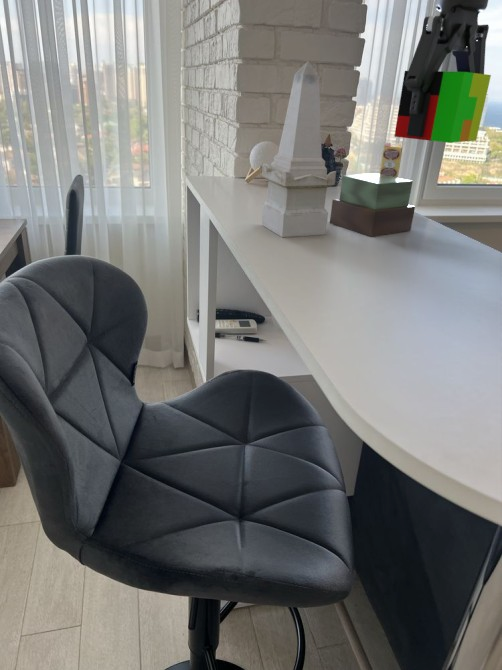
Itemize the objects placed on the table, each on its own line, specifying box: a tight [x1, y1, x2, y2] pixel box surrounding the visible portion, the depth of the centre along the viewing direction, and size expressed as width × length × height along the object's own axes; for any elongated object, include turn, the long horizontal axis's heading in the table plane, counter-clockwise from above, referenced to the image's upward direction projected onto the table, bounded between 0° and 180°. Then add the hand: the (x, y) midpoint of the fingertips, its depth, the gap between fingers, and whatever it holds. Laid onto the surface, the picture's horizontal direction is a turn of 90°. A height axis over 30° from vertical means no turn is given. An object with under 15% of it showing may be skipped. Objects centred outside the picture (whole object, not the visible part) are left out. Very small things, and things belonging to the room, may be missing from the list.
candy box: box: [379, 142, 403, 178], centre depth 117 cm, size 9×4×15 cm, turn 165°
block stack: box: [329, 172, 416, 238], centre depth 105 cm, size 12×12×10 cm
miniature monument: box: [261, 60, 337, 238], centre depth 95 cm, size 10×10×30 cm
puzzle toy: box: [394, 70, 492, 144], centre depth 84 cm, size 10×10×10 cm
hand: (435, 135), depth 86 cm, fingers closed on puzzle toy, 11 cm apart
